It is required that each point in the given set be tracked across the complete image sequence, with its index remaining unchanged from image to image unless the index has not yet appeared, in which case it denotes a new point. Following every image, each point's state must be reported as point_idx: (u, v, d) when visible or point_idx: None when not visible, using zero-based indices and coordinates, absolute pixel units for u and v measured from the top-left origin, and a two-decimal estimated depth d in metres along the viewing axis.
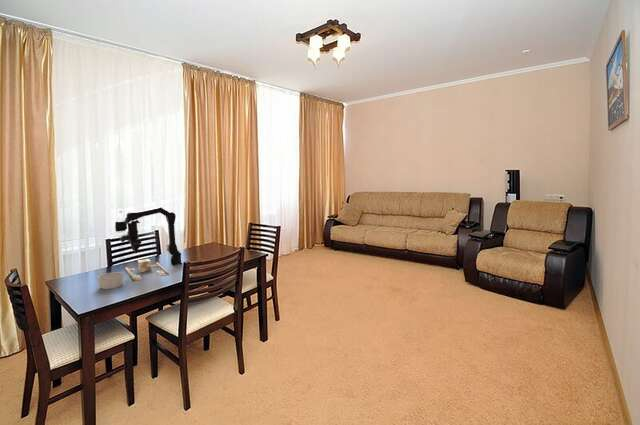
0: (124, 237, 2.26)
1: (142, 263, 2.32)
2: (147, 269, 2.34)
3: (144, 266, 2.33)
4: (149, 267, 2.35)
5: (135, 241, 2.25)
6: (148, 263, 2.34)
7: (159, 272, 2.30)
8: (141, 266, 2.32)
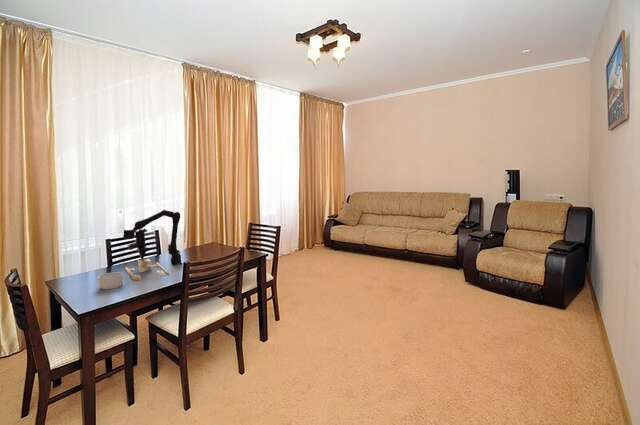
0: (132, 245, 2.33)
1: (142, 263, 2.32)
2: (147, 269, 2.34)
3: (144, 266, 2.33)
4: (149, 267, 2.35)
5: (142, 249, 2.33)
6: (148, 263, 2.34)
7: (159, 272, 2.30)
8: (141, 266, 2.32)
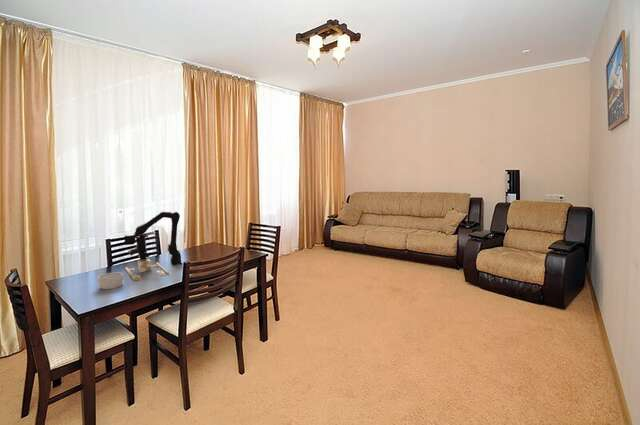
0: (133, 251, 2.32)
1: (142, 263, 2.32)
2: (147, 269, 2.34)
3: (144, 266, 2.33)
4: (149, 267, 2.35)
5: (143, 255, 2.32)
6: (148, 263, 2.34)
7: (159, 272, 2.30)
8: (141, 266, 2.32)
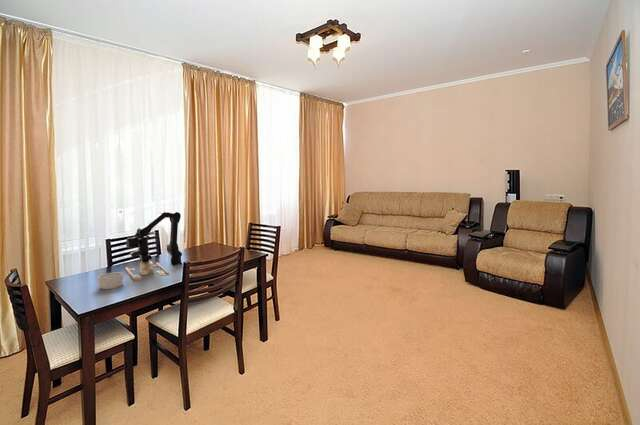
0: (135, 253, 2.26)
1: (144, 266, 2.25)
2: (149, 272, 2.28)
3: (146, 269, 2.26)
4: (151, 270, 2.28)
5: (145, 257, 2.25)
6: (150, 265, 2.28)
7: (159, 272, 2.30)
8: (143, 269, 2.25)
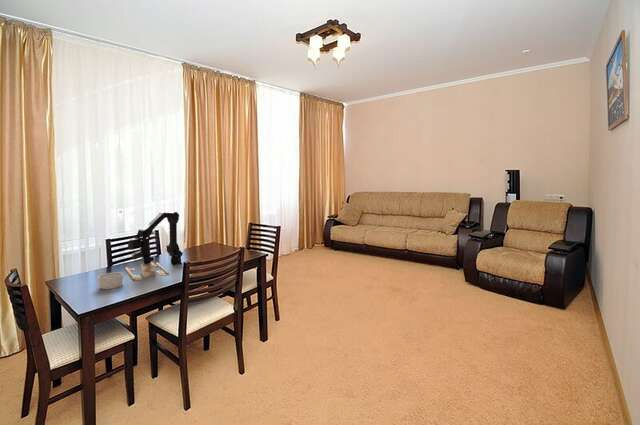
0: (136, 254, 2.22)
1: (146, 267, 2.21)
2: (151, 274, 2.24)
3: (148, 270, 2.22)
4: (153, 271, 2.25)
5: (147, 259, 2.21)
6: (152, 267, 2.24)
7: (159, 272, 2.30)
8: (145, 270, 2.21)
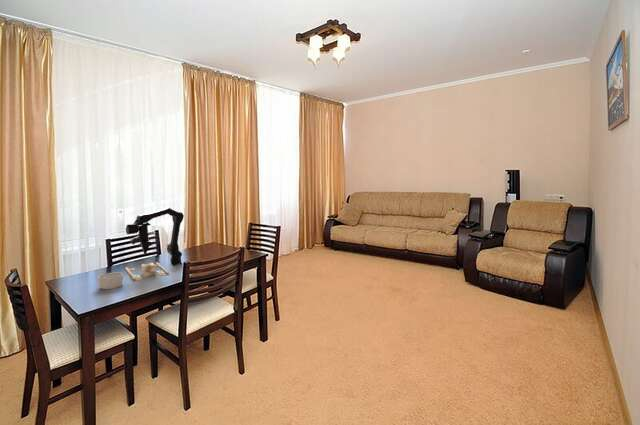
0: (135, 239, 2.25)
1: (146, 267, 2.21)
2: (151, 274, 2.24)
3: (148, 271, 2.22)
4: (153, 272, 2.24)
5: (145, 243, 2.25)
6: (152, 267, 2.24)
7: (159, 272, 2.30)
8: (145, 271, 2.21)
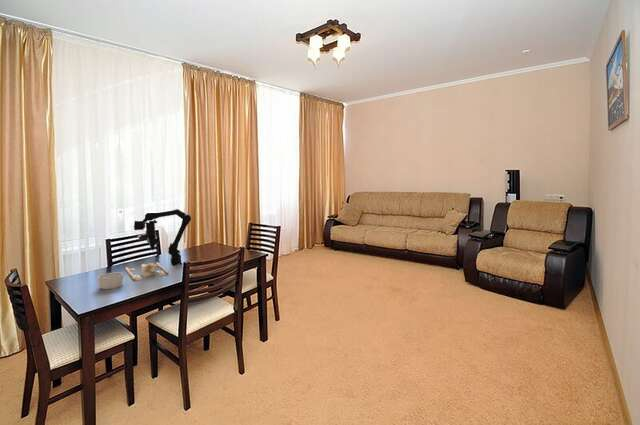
0: (143, 236, 2.36)
1: (146, 267, 2.21)
2: (151, 274, 2.24)
3: (148, 271, 2.22)
4: (153, 272, 2.24)
5: (153, 240, 2.36)
6: (152, 267, 2.24)
7: (159, 272, 2.30)
8: (145, 271, 2.21)
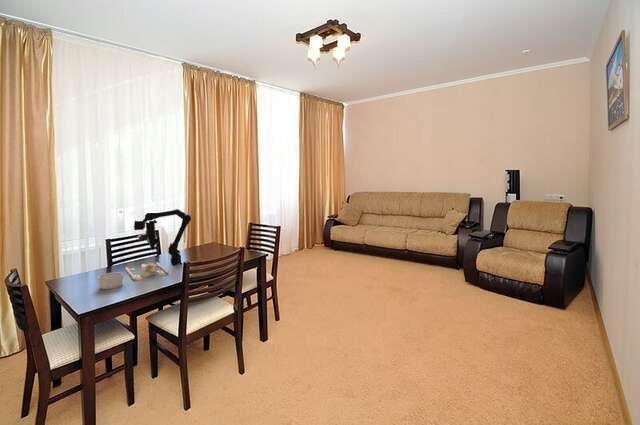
0: (143, 236, 2.36)
1: (146, 267, 2.21)
2: (151, 274, 2.24)
3: (148, 271, 2.22)
4: (153, 272, 2.24)
5: (153, 240, 2.36)
6: (152, 267, 2.24)
7: (159, 272, 2.30)
8: (145, 271, 2.21)
